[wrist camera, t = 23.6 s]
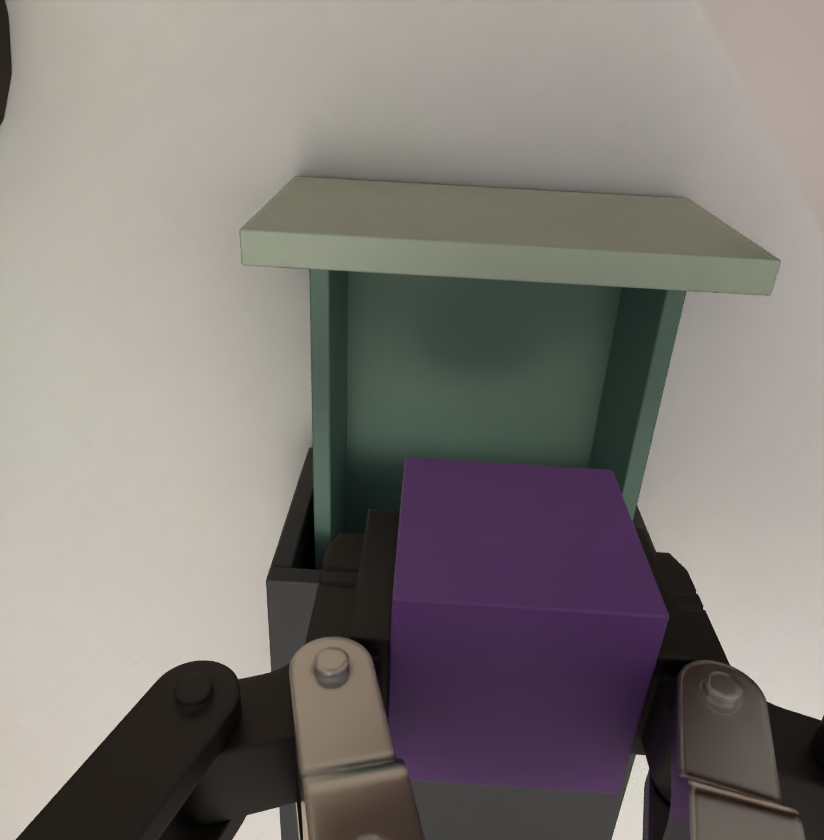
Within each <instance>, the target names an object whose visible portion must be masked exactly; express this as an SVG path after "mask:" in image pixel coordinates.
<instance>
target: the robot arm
mask: <svg viewBox="0 0 824 840" xmlns="http://www.w3.org/2000/svg"><path fill="white" fill-rule="evenodd" d="M399 518H400V511H396V510H380V509H368V513H367V520H366V526H365V533H348V532H340V533H339V534H338V535H337V537H336V538H335V539H334V540H333V541H332V542H331V543H330V544H329V545H328V547H327V548H326V552H325V557H324V561H323V566H322V570H321V574H320V579H319V585H318V588H317V592H316V597H315V601H314V606H313V610H312V615H311V619H310V624H309V628H308V632H307V637H306V641H305V644H304V646H303V647H301V648H300V649H299V650H298V651H297V652H296V653H295V655H294V656H293V658H292V660H291V662H290V663H288V664H287V665H285V666H284V667H282V668H280V669H278V670H275V671H273V672H270V673H266V674H263V675H258V676H253V677H248V678H243V679H238V678H237V676H236V675H235V673H234V672H233V671H232V670H231V669H230V668H228V667H227V666H225V665H223V664H221V663H217V662H214V661H193V662H188V663H185V664H182V665H179V666H177V667H175V668H173V669H171V670H169V671H168V672H167V673H165V674H164V675H163V676H161V677H160V678H159V679H158V680H157V681H156V683H155V684H154V685H153V686H152V687H151V688H150V689H149V690H148V692H147V693H146V694H145V695H144V696H143V697H142V698H141V699H140V701H139V702H138V703H137V704H136V705H135V706H134V707H133V708H132V710H131V711H130V712H129V713H128V714H127V715H126V716H125V717H124V719H123V720H122V721H121V722H120V723H119V724H118V725H117V726H116V728H115V729H114V730H113V731H112V732H111V733H110V734H109V735H108V736H107V738H106V739H105V740H104V741H103V742H102V743H101V744H100V745H99V747H98V748H97V749H96V750H95V751H94V752H93V753H92V754H91V756H90V757H89V758H88V759H87V760H86V761H85V762H84V763H83V765H82V766H81V767H80V768H79V769H78V770H77V771H76V772H75V774H74V775H73V776H72V777H71V778H70V779H69V780H68V781H67V783H66V784H65V785H64V786H63V787H62V788H61V789H60V790H59V792H58V793H57V794H56V795H55V796H54V797H53V798H52V799H51V801H50V802H49V803H48V804H47V805H46V806H45V807H44V808H43V809H42V811H41V812H40V813H39V814H38V815H37V816H36V817H35V818H34V820H33V821H32V822H31V823H30V824H29V825H28V826H27V827H26V829H25V830H24V831H23V832H22V833H21V834H20V835H19V836H18V838H17V839H16V840H232V839H233V837H234V836H235V834H236V833H237V831H238V829H239V828H240V826H241V824H242V823H243V821H244V819H245V817H246V815H249V814H253V813H257V812H261V811H265V810H269V809H273V808H276V807H280V806H284V805H288V804H292V803H296V812H297V822H298V833H299V840H425V837H424V833H423V829H422V825H421V821H420V817H419V813H418V809H417V805H416V801H415V797H414V793H413V789H412V785H411V781H410V777H409V774H408V770H407V767H406V764H405V762H404V760H403V759H402V758H399V759H397V757H396V754H395V751H394V746H393V742H392V738H391V734H390V730H389V726H388V721H387V698H388V677H389V656H390V635H391V614H392V596H393V585H394V573H395V562H396V551H397V540H398V529H399ZM634 527H635V529H636V532H637V534H638V537H639V539H640V542H641V545H642V547H643V550H644V552H645V555H646V558H647V560H648V563H649V565H650V568H651V570H652V573H653V576H654V578H655V581H656V583H657V586H658V589H659V591H660V594H661V596H662V599H663V601H664V604H665V607H666V609H667V612H668V614H669V620H668V623H667V627H666V630H665V634H664V637H663V641H662V644H661V648H660V651H659V655H658V658H657V662H656V665H655V669H654V672H653V676H652V679H651V683H650V686H649V690H648V693H647V697H646V700H645V704H644V707H643V711H642V714H641V718H640V721H639V725H638V728H637V732H636V735H635V739H634V742H633V746H632V749H631V753H630V754H637V755H646V758H647V762H648V765H649V772H648V775H647V778H646V781H645V786H644V811H643V840H824V716H823V718H822V721H821V720H818V719H815V718H812V717H808V716H805V715H802V714H799V713H796V712H793V711H789V710H786V709H783V708H781V707H778V706H775V705H773V704H771V703H769V702H767V701H766V698H765V696H764V694H763V692H762V691H761V689H760V688H759V686H758V685H757V684H756V683H755V682H754V681H753V680H752V679H751V678H749V677H748V676H747V675H746V674H744V673H743V672H741V671H739V670H738V669H736V668H734V667H732V666H730V664H729V662H728V660H727V658H726V655H725V653H724V651H723V649H722V646H721V644H720V642H719V640H718V638H717V635H716V633H715V631H714V629H713V627H712V624H711V622H710V620H709V618H708V616H707V613H706V611H705V610H703V605H702V602H701V600H700V598H699V596H698V594H696V589H695V587H694V585H693V582H692V580H691V578H690V576H689V574H688V571H687V570H686V569H685V568H684V567H683V566H682V565H681V564H680V563H679V562H678V561H677V560H676V559H675V558H674V557H673V556H672V555H670V554H669V553H661V552H654V551H653V548H652V546H651V543H650V541H649V538H648V536H647V533H646V531H645V529H644V528H643V527H642V526H634Z"/></svg>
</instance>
